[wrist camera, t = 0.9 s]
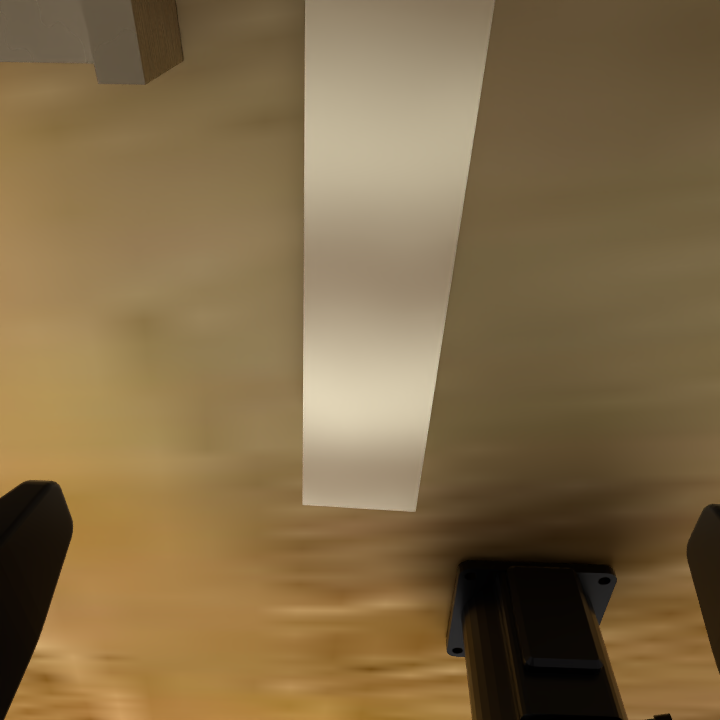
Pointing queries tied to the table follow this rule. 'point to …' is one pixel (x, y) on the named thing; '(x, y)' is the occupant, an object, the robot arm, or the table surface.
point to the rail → (381, 232)
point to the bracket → (94, 36)
